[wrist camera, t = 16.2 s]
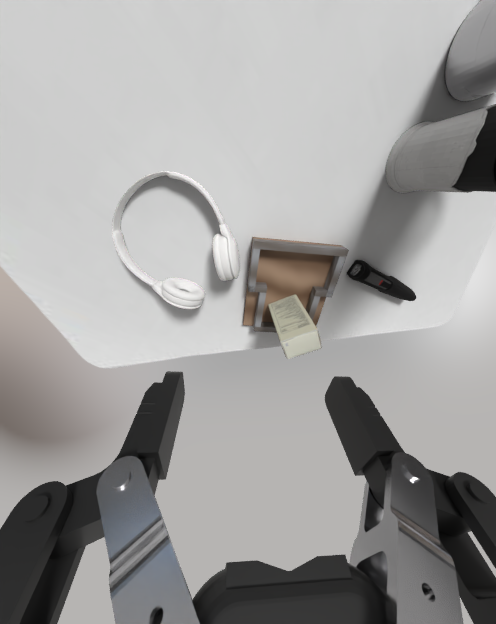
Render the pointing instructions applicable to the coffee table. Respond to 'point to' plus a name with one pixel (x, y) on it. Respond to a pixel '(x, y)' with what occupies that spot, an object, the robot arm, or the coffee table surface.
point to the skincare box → (294, 327)
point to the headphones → (174, 288)
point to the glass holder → (446, 155)
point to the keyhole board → (290, 277)
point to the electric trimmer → (380, 281)
